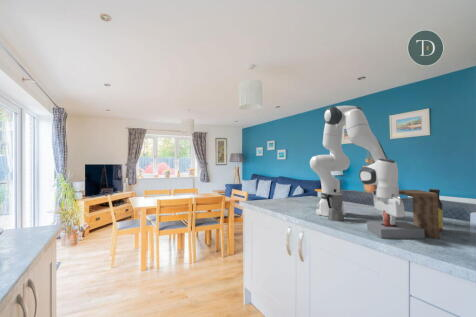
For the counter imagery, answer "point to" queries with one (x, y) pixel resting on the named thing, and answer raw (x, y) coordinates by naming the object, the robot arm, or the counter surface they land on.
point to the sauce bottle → (439, 208)
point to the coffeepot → (335, 206)
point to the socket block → (396, 230)
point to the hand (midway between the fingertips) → (388, 222)
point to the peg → (387, 219)
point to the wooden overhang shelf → (425, 211)
